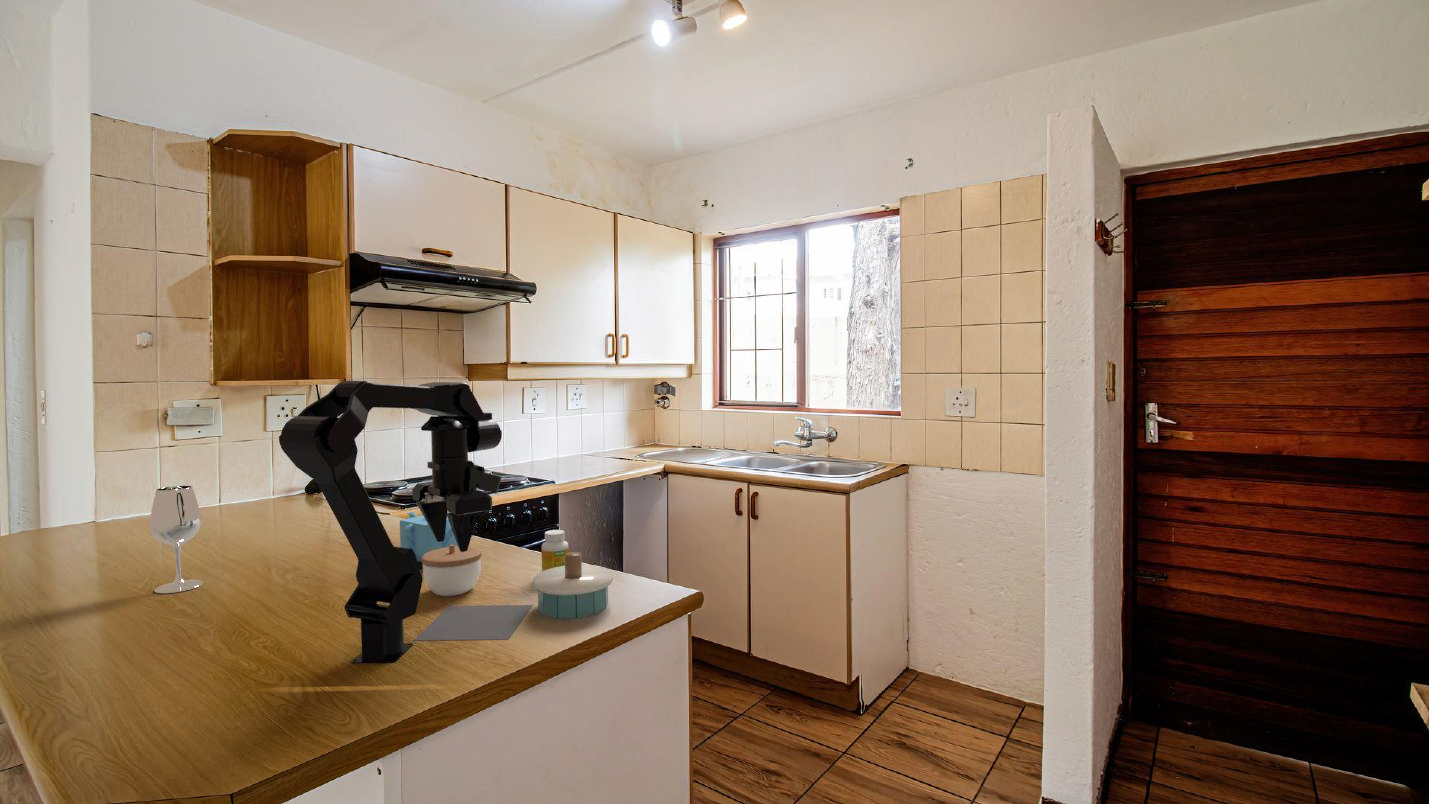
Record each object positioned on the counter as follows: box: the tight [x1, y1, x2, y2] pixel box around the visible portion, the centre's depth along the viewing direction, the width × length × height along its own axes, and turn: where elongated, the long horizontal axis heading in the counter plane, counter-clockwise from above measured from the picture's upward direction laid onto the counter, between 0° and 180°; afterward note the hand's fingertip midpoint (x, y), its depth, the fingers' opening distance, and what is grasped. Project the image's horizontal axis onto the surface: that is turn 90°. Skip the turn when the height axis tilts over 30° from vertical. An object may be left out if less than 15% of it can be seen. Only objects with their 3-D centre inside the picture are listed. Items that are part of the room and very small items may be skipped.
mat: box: [412, 604, 533, 642], centre depth 111 cm, size 15×15×1 cm
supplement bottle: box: [541, 529, 570, 572], centre depth 135 cm, size 5×5×10 cm
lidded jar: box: [421, 545, 482, 597], centre depth 127 cm, size 11×11×9 cm
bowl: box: [537, 586, 609, 620], centre depth 118 cm, size 12×12×5 cm
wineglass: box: [149, 485, 204, 594], centre depth 130 cm, size 8×8×20 cm
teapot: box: [399, 511, 458, 563], centre depth 149 cm, size 16×18×11 cm
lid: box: [532, 551, 614, 595], centre depth 118 cm, size 14×14×5 cm
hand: (451, 546), depth 112 cm, fingers open, 9 cm apart
